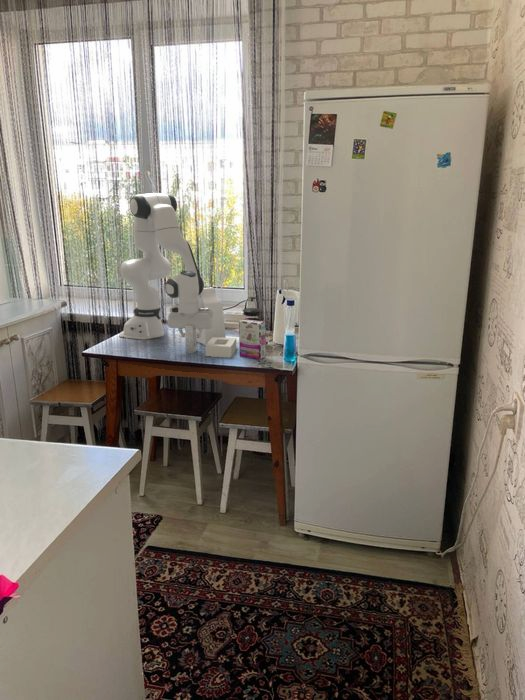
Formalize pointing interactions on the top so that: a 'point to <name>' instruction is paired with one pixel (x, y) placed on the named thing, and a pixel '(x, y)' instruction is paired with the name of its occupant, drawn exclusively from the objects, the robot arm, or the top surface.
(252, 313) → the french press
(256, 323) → the candy bar box
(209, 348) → the slotted post base
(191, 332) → the block
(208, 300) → the milk
